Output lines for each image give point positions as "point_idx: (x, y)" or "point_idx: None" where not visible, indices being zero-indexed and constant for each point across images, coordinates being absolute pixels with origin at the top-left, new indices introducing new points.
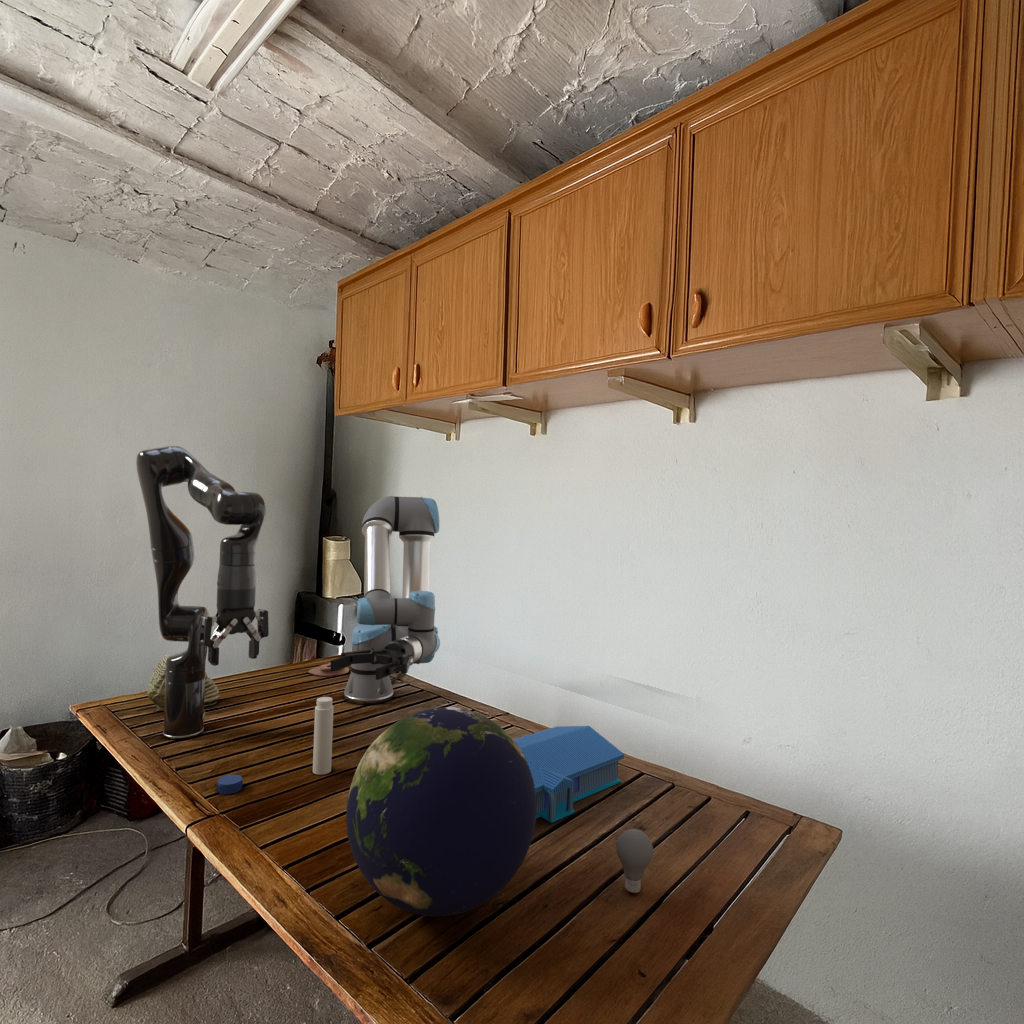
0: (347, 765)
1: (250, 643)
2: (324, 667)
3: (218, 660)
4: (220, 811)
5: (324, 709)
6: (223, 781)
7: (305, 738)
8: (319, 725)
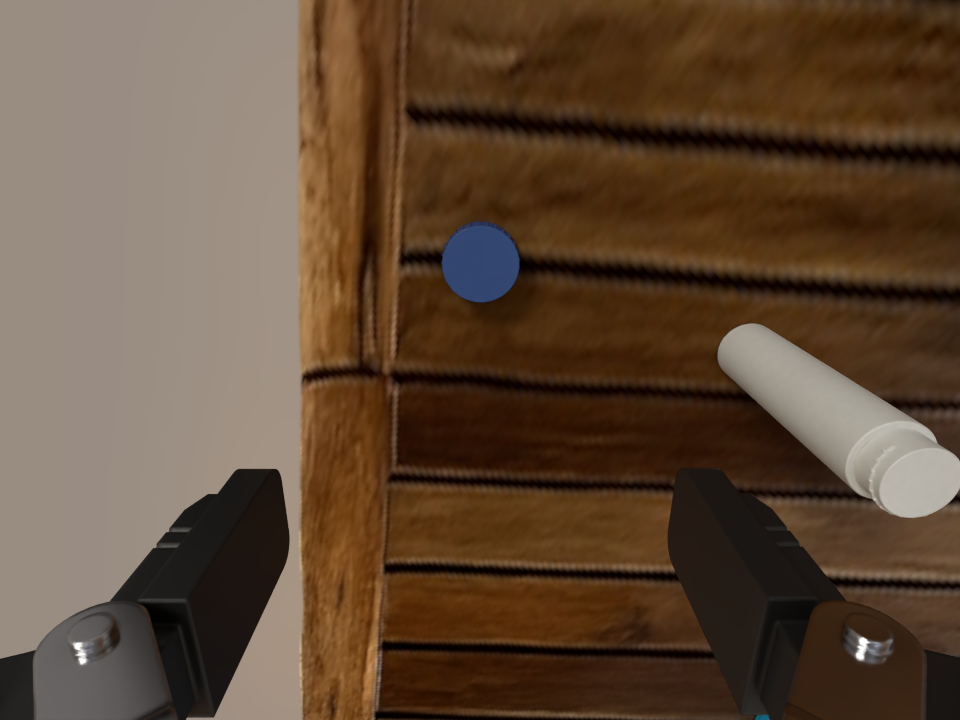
0: None
1: (742, 604)
2: None
3: (270, 589)
4: (395, 366)
5: (861, 490)
6: (458, 262)
7: (954, 35)
8: (805, 441)
